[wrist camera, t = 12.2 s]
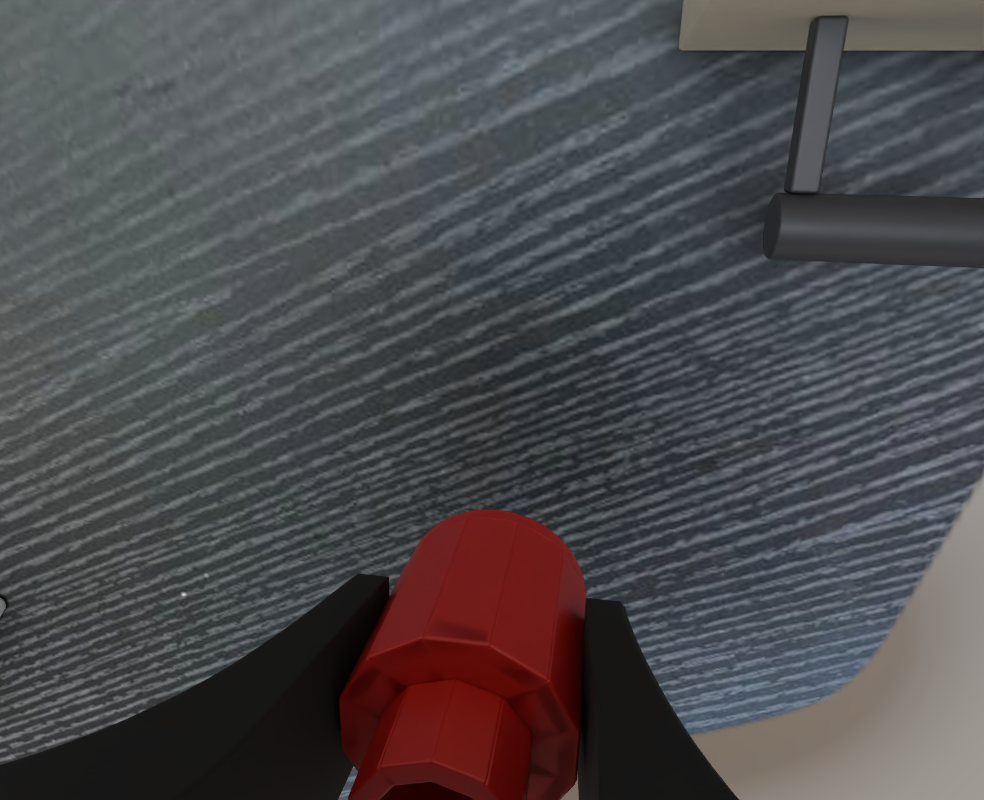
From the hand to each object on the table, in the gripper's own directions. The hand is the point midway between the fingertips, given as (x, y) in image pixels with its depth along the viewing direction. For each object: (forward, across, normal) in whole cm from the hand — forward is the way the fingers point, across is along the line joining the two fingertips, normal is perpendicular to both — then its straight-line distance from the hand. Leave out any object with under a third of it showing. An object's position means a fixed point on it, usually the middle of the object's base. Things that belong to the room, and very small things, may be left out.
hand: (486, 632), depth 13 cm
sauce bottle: (+1, 0, 0) cm, 1 cm away
